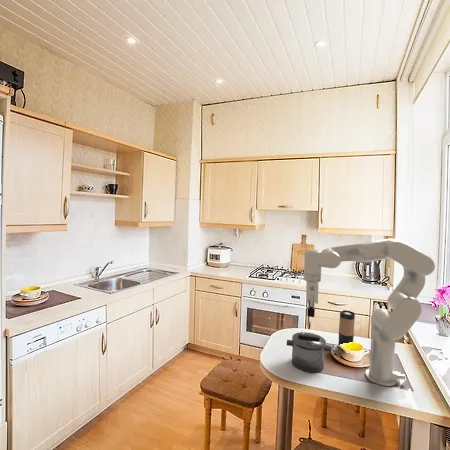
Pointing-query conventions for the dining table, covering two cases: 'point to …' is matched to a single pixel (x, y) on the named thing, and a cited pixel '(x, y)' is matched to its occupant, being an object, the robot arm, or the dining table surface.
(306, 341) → the lid
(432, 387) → the dining table surface
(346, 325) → the travel mug
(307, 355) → the cooker pot
